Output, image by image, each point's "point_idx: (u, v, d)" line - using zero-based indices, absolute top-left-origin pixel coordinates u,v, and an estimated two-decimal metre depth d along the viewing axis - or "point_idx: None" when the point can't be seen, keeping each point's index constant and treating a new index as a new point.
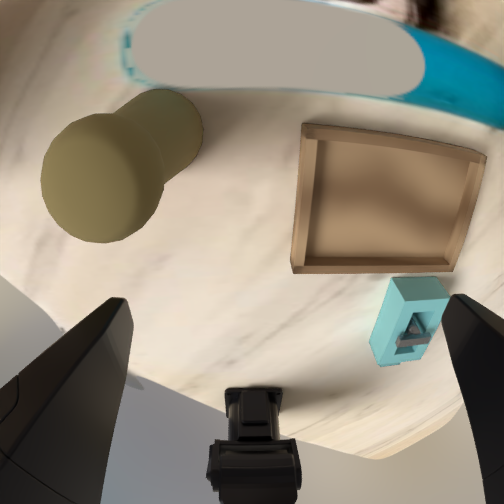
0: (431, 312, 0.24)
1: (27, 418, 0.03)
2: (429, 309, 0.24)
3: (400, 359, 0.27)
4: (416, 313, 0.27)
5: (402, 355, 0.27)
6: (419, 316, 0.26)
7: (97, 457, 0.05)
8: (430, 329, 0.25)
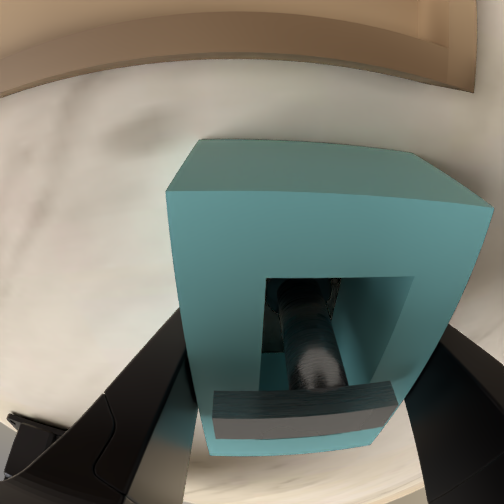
0: (399, 289, 0.05)
1: (136, 444, 0.03)
2: (378, 266, 0.04)
3: (293, 449, 0.08)
4: (349, 298, 0.08)
5: (294, 441, 0.08)
6: (357, 309, 0.07)
7: (182, 470, 0.05)
8: (397, 367, 0.06)
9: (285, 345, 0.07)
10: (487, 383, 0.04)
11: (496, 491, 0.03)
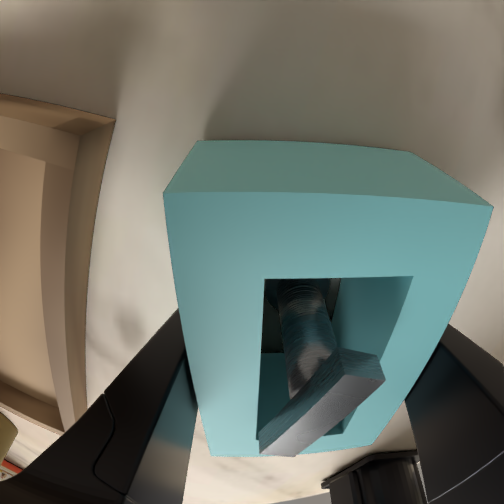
0: (398, 289, 0.05)
1: (136, 444, 0.03)
2: (376, 266, 0.04)
3: None
4: (349, 298, 0.08)
5: None
6: (357, 309, 0.07)
7: (182, 470, 0.05)
8: (397, 366, 0.06)
9: None
10: (487, 383, 0.04)
11: (496, 491, 0.03)
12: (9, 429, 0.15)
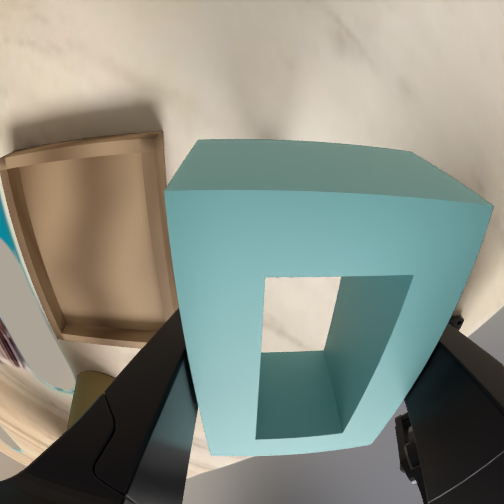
0: (399, 288, 0.05)
1: (136, 444, 0.03)
2: (377, 265, 0.04)
3: (293, 449, 0.08)
4: (349, 298, 0.08)
5: (294, 441, 0.08)
6: (357, 309, 0.07)
7: (182, 471, 0.05)
8: (397, 366, 0.06)
9: None
10: (487, 383, 0.04)
11: (496, 491, 0.03)
12: None
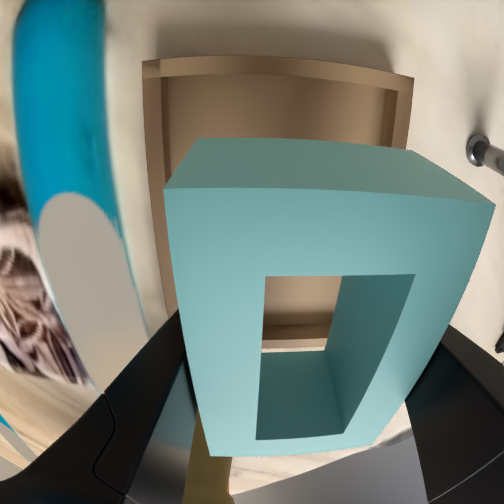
0: (401, 287, 0.05)
1: (136, 444, 0.03)
2: (379, 264, 0.04)
3: (294, 450, 0.08)
4: (350, 297, 0.08)
5: (295, 441, 0.07)
6: (358, 308, 0.07)
7: (182, 470, 0.05)
8: (398, 366, 0.06)
9: (499, 173, 0.11)
10: (487, 383, 0.04)
11: (496, 491, 0.03)
12: None
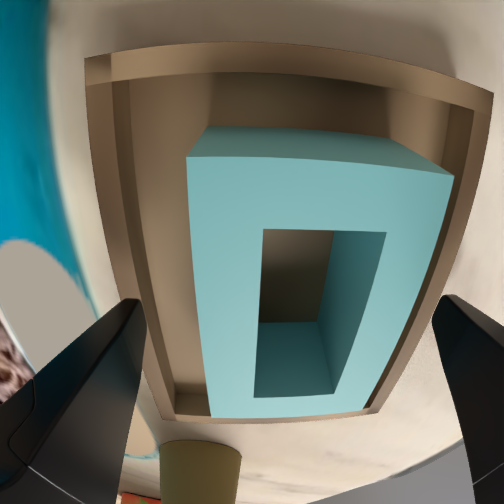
0: (376, 246, 0.06)
1: (45, 424, 0.03)
2: (354, 221, 0.06)
3: (289, 411, 0.09)
4: (337, 266, 0.09)
5: (289, 401, 0.09)
6: (344, 274, 0.08)
7: (113, 460, 0.05)
8: (379, 321, 0.07)
9: None
10: None
11: None
12: (237, 460, 0.19)
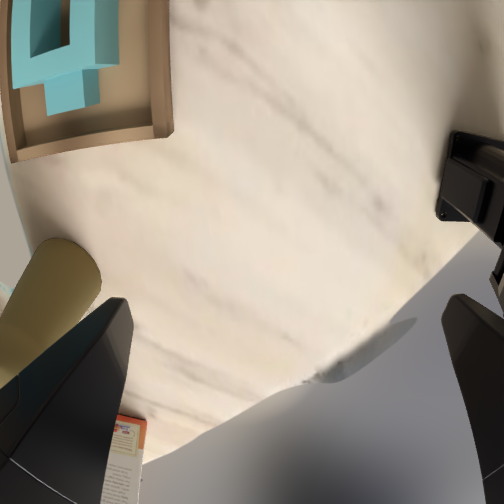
0: None
1: (27, 418, 0.03)
2: None
3: (48, 68, 0.10)
4: None
5: (47, 57, 0.10)
6: None
7: (97, 457, 0.05)
8: None
9: None
10: None
11: None
12: (90, 267, 0.20)
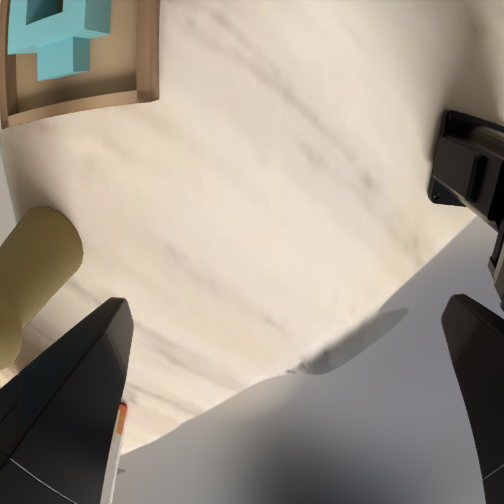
0: None
1: (27, 418, 0.03)
2: None
3: (41, 34, 0.10)
4: None
5: (41, 24, 0.09)
6: None
7: (97, 457, 0.05)
8: None
9: None
10: None
11: None
12: (72, 236, 0.19)
